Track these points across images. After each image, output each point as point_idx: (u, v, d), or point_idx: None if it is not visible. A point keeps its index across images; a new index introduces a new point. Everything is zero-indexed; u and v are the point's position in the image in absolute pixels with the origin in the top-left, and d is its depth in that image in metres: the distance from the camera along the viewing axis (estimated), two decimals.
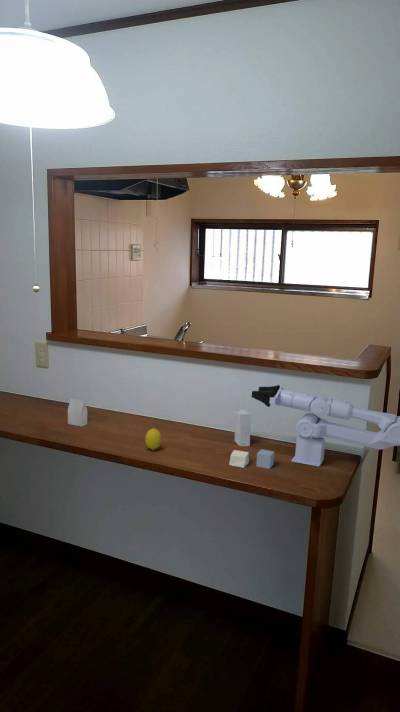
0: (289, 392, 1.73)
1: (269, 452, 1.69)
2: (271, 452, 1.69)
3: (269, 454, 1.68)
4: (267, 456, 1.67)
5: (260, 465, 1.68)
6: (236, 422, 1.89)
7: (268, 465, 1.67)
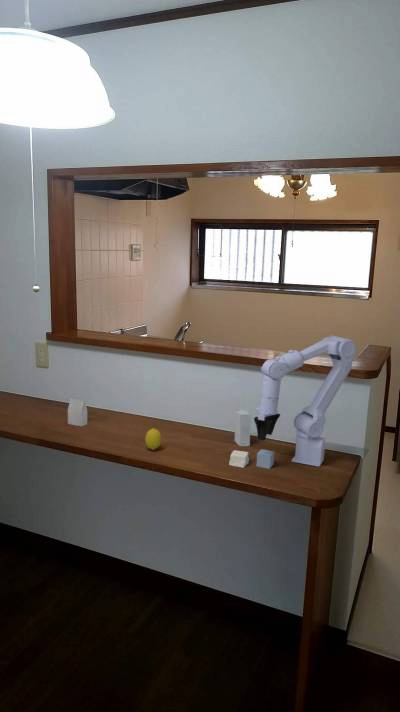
0: None
1: (269, 452, 1.69)
2: (271, 452, 1.69)
3: (269, 454, 1.68)
4: (267, 456, 1.67)
5: (260, 465, 1.68)
6: (236, 422, 1.89)
7: (268, 465, 1.67)
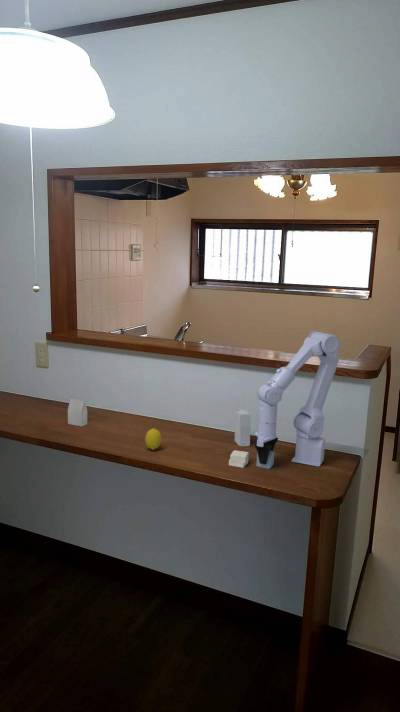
0: None
1: (269, 452, 1.69)
2: (271, 452, 1.69)
3: (269, 454, 1.67)
4: None
5: (260, 464, 1.68)
6: (236, 422, 1.89)
7: (268, 465, 1.67)
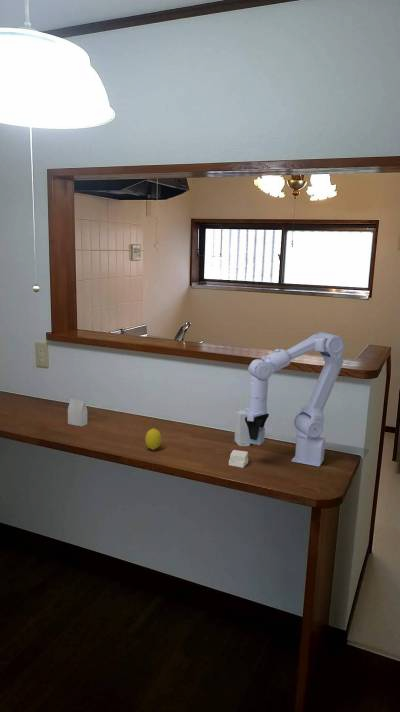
0: (249, 400, 1.66)
1: (260, 428, 1.68)
2: (262, 428, 1.68)
3: (259, 430, 1.66)
4: None
5: (251, 441, 1.67)
6: (236, 422, 1.89)
7: (258, 441, 1.66)
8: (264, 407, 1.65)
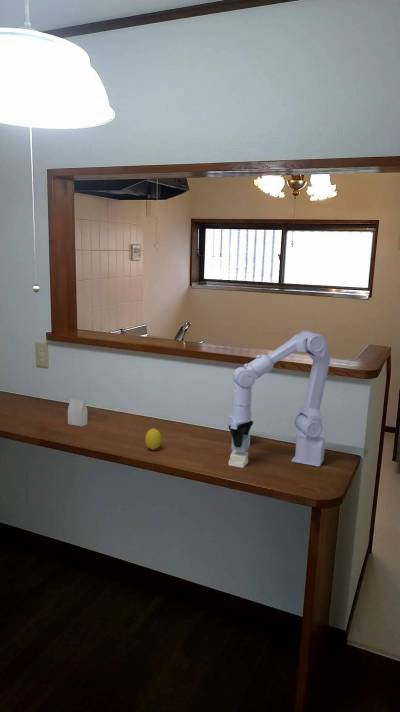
0: (233, 408, 1.67)
1: (244, 436, 1.69)
2: (246, 436, 1.69)
3: (244, 437, 1.67)
4: None
5: (235, 448, 1.68)
6: None
7: (243, 448, 1.67)
8: (248, 415, 1.65)
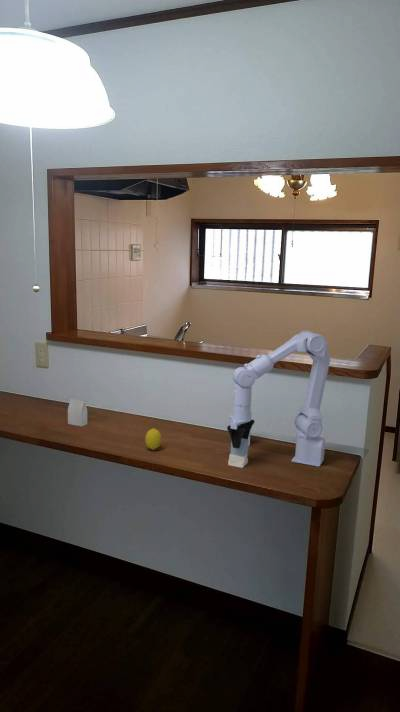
0: (233, 408, 1.67)
1: (243, 440, 1.69)
2: (245, 440, 1.69)
3: (243, 442, 1.67)
4: (241, 444, 1.67)
5: (234, 452, 1.68)
6: None
7: (242, 453, 1.67)
8: (248, 415, 1.65)
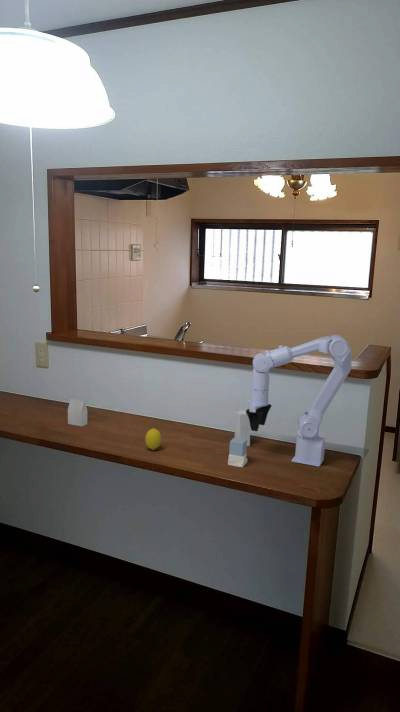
0: (251, 392, 1.73)
1: (242, 440, 1.70)
2: (244, 440, 1.70)
3: (242, 442, 1.68)
4: (240, 444, 1.67)
5: (233, 453, 1.68)
6: (236, 422, 1.89)
7: (241, 453, 1.67)
8: (266, 399, 1.72)
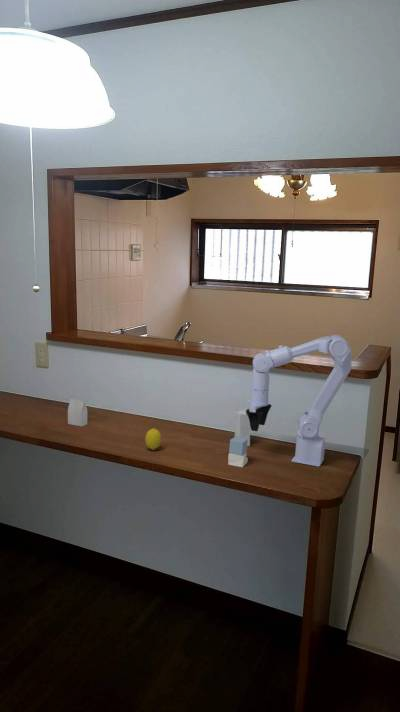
0: (251, 392, 1.73)
1: (242, 439, 1.70)
2: (244, 439, 1.70)
3: (242, 441, 1.68)
4: (239, 443, 1.67)
5: (233, 452, 1.68)
6: (236, 422, 1.89)
7: (240, 452, 1.67)
8: (266, 399, 1.72)
